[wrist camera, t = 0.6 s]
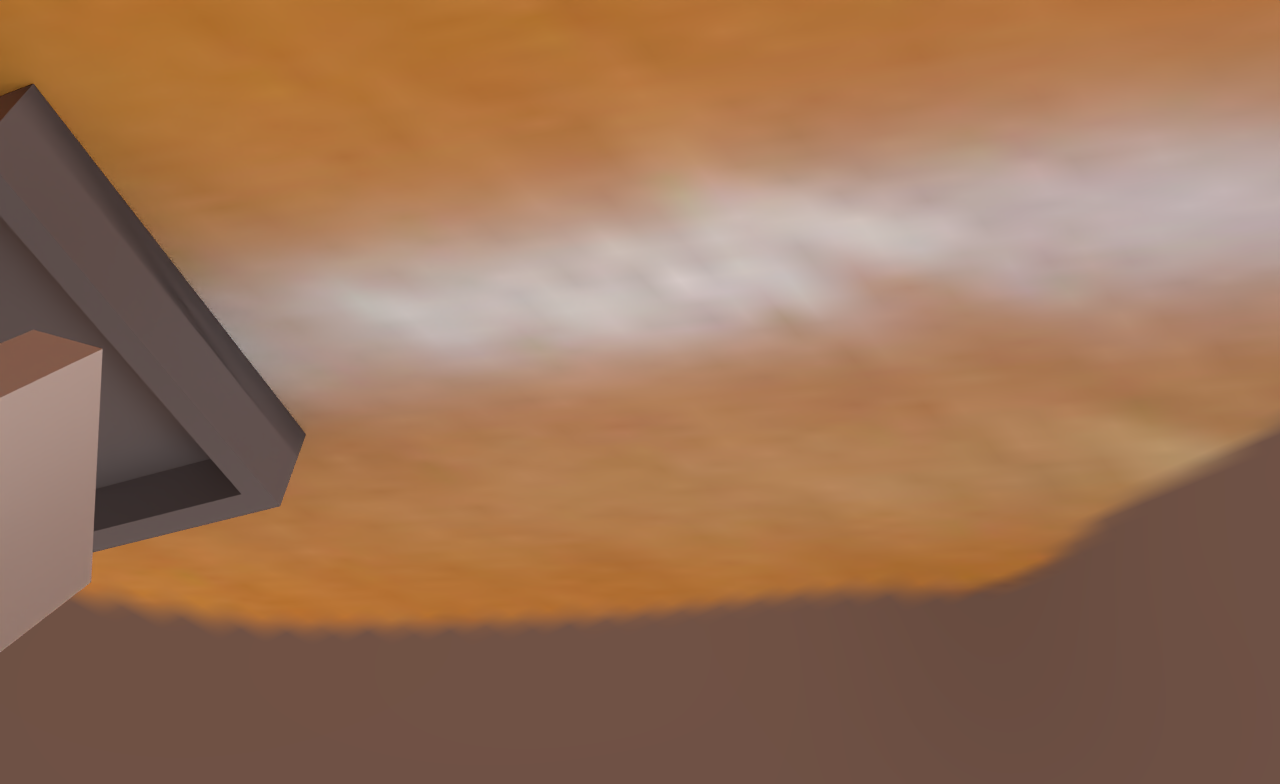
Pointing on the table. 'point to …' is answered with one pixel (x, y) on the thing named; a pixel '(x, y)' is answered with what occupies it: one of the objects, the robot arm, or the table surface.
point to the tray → (133, 342)
